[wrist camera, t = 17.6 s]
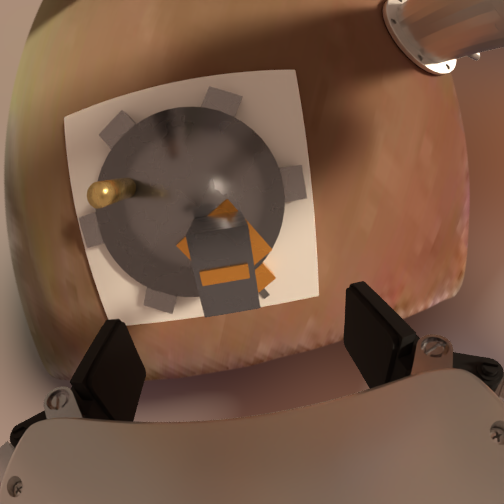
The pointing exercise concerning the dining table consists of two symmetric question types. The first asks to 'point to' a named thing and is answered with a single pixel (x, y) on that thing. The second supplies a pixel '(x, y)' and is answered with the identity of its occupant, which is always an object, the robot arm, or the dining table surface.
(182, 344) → the dining table surface
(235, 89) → the board
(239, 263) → the link
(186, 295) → the sprocket
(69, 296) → the dining table surface
